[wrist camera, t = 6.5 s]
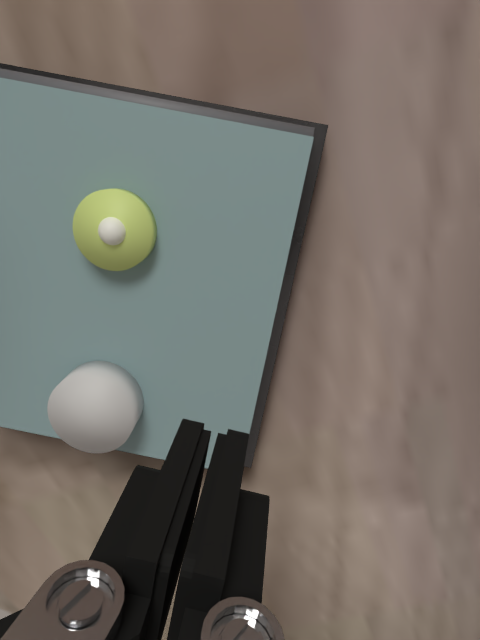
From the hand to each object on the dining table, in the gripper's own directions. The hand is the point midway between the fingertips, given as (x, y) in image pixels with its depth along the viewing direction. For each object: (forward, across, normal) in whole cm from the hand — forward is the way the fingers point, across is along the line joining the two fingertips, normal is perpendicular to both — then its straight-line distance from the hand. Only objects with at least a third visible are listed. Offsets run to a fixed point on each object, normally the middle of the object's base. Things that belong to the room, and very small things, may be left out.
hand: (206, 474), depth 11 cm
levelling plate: (+15, +8, +1) cm, 17 cm away
